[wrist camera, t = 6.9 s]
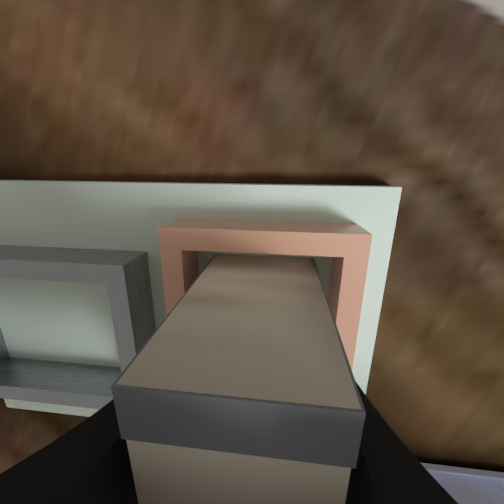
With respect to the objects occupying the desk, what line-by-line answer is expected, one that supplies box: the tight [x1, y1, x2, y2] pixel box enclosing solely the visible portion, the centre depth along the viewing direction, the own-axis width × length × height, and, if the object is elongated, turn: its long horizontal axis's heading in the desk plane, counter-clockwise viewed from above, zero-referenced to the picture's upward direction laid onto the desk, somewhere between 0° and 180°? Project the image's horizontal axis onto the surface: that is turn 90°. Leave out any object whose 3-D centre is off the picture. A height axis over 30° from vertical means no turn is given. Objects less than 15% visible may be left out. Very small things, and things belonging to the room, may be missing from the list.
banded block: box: [111, 254, 366, 504], centre depth 9 cm, size 7×4×7 cm, turn 179°
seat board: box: [0, 180, 402, 417], centre depth 12 cm, size 20×13×3 cm, turn 89°
